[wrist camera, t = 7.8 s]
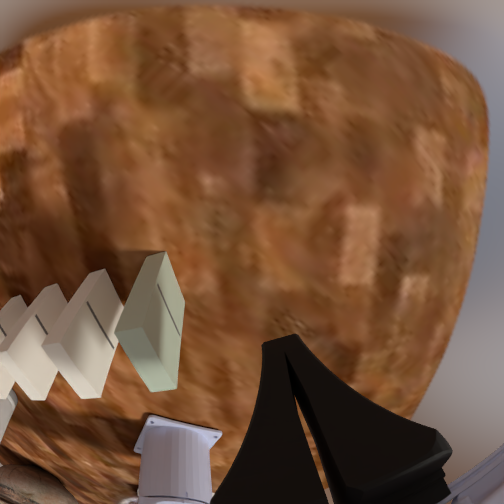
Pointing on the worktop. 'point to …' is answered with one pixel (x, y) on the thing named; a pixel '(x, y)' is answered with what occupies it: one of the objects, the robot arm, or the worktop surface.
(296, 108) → the worktop surface
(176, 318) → the domino
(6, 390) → the domino
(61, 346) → the domino
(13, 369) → the domino
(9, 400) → the travel mug
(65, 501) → the cooking pot
